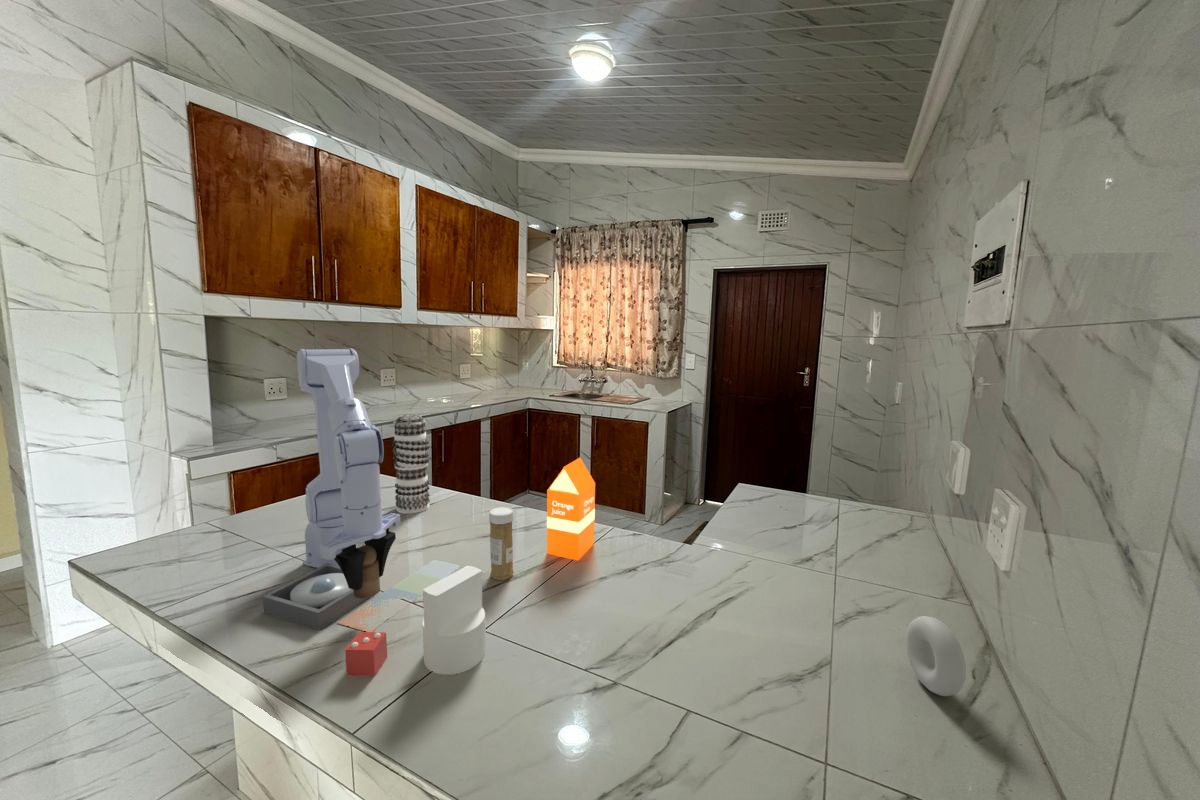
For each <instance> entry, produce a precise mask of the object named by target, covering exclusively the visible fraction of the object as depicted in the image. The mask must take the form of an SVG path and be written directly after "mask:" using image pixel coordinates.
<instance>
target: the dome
mask: <svg viewBox="0 0 1200 800" xmlns="http://www.w3.org/2000/svg"><path fill="white" fill-rule="evenodd" d="M350 590H352V589H349V587H348V584H347V581H346V579H345V576H344V574H343V573H330V574H324V575H319V576H316V577H313V578H310V579H307V580H305V581H303V582H301V583H300V584H298V585H297V586H295V587H294V588H293V589H292V591H291V593H290V599H291V601H292V602H296V603H299V604H303V605H306V606H310V607H313V608H316V609H320V608H322V607H324V606H325V605H327V604H329V603H330V602H332V601H334V600H335V599H337V598H339V597H340V596H342V595H344V594H345V593H347V592H349V591H350Z"/></svg>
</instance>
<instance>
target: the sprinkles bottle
mask: <svg viewBox="0 0 1200 800" xmlns="http://www.w3.org/2000/svg"><path fill="white" fill-rule="evenodd" d="M488 515H489V516H488V517H489V518H488V519H489V521H488V522H489V524H490V525H489V526H490V527H489V528H490V532H489V533H490V534H489V541H490V542H489V545H490V547H489V548H490V551H489V553H490V577H491V579H494V580H496V581H503V580H504V581H505V580H508V579H510V578H511V577H512V576H513V575H514V568H513V567H514V566H513V565H514V564H513V563H514V562H513V561H514V553H513V551H514V550H513V544H514V543H513V540H514V539H513V520H514V511H513V509H512V508H510V507H504V506H503V507H500V506H499V507H495V508H492V509H491V510H490V511H489V514H488Z"/></svg>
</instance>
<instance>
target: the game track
mask: <svg viewBox="0 0 1200 800" xmlns="http://www.w3.org/2000/svg"><path fill="white" fill-rule="evenodd" d="M461 567H462V565H460V564H456V563H451V562H446V561H442V560H437V559H432V560H431V561H429V562H428V563H426V564H425V565H423V566H422V567H420V568H419V569H417V570H415V571H414V572H413V573H411V574H410V575H408V576H407V577H404V578H403V579H402V580H400V581H399V582H397V583H396V584H394V585H392V586H391V587H390V588H388V589H387V590H385V591H384V592H382V593H381V594H379V595H378V596H376V597H375V598H373V599H371V600H370V601H371V603H372V604H371V606H370V605H369V607H368V610H367V606H368V602H369V604H370V601H368V602H367V603H366V604H367V605H366V607H365V604H364V605H363V606H361V607H359V608H360V610H359V608H358V609H356V610H355V611H353V612H352V613H350V614H348V615H347V616H346V617H344V618H343V619H341V620H340V621H338V622H337V624H338V625H341V626H344V627H347V626H349V627H348V628H352V629H355V630H357V629H358V631H361V630H362V631H361V632H364V631H366V630H367V631H366V632H372V630H373V632H375V630H376V629H375V628H376V627H377V626H376V627H375V626H374V625H373V626H374V627H375V628H374V627H373V626H371V629H372V630H371V629H370V628H369V627H368V625H366V624H367V623H366V624H365V625H366V626H367V627H368V628H369V629H370V630H369V629H368V628H367V627H366V626H364V625H363V626H364V627H363V626H362V625H361V624H359V623H360V619H361V618H362V620H363V619H364V618H365V619H366V618H367V617H368V616H369V617H368V619H369V618H370V616H371V615H372V613H373V611H374V609H375V607H376V605H377V607H379V606H380V605H381V599H382V600H387V601H388V599H389V600H390V598H391V599H392V600H393V598H394V599H397V598H398V599H402V596H403V597H405V598H406V596H407V599H408V600H409V599H410V600H413V599H414V600H415V601H416V600H417V599H419V598H420V597H423V589H425V588H426V587H428V586H430V585H432V584H434V583H436V582H438V581H440V580H442V579H443V578H445V577H447V576H449V575H451V574H453V573H455V572H457V571H458V570H459V569H460V568H461ZM401 595H402V596H401ZM399 596H400V597H401V598H400V597H399ZM395 597H396V598H395ZM408 597H409V598H408ZM403 599H404V598H403ZM373 601H374V603H373ZM378 601H379V602H378ZM376 602H377V603H376ZM382 602H383V601H382ZM378 603H380V604H379V605H378ZM384 603H386V601H385V602H384ZM373 604H375V605H374V606H373ZM387 604H388V602H387ZM382 605H383V604H382ZM384 606H385V605H384ZM387 606H388V605H387ZM362 607H363V609H362ZM370 607H373V608H374V609H372V608H371V610H370V612H371V613H370V612H369V613H368V611H369V609H370ZM377 607H376V609H375V611H374V613H373V615H372V617H373V616H374V614H375V612H376V610H377ZM364 608H365V609H364ZM379 609H380V607H379ZM379 609H378V610H377V613H378V612H379ZM358 610H359V611H358ZM366 610H367V612H366ZM381 610H382V609H381ZM381 610H380V612H381ZM383 611H384V610H383ZM357 612H358V613H357ZM365 612H366V613H365ZM380 612H379V614H380ZM377 613H376V614H375V616H376V615H377ZM382 613H383V612H382ZM369 614H370V615H369ZM379 614H378V615H379ZM358 615H359V616H358ZM360 616H361V618H360ZM365 616H366V617H365ZM387 616H388V615H387ZM372 617H371V618H372ZM377 617H378V616H377ZM379 617H380V615H379ZM379 617H378V618H379ZM358 619H359V620H358ZM375 619H376V618H375ZM357 620H358V621H357ZM362 620H361V621H362ZM377 620H378V619H377ZM364 621H365V620H363V621H362V623H363V622H364ZM371 621H372V620H371ZM358 622H359V623H358ZM365 622H366V621H365ZM368 622H369V621H368ZM363 624H364V623H363ZM372 627H373V628H374V629H375V630H374V629H373V628H372ZM365 629H366V630H365ZM363 630H364V631H363Z"/></svg>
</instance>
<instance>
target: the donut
mask: <svg viewBox="0 0 1200 800" xmlns="http://www.w3.org/2000/svg"><path fill="white" fill-rule="evenodd" d="M905 646H906V652H907V656H908V659H909V663H910V666H911V668H912V670H913V672H914V674H915V676H916V677H917V678H918V680H919V681H920V683H921V684H922V685H923V686H924V687H925V688H926V689H928V690H929V691H930V692H931V693H934V694H936V695H937V696H941V697H951V696H956V695H957V694H958V693H960V692H961V690H962V689H963V687H964V686H965V685H964V684H965V682H966V677H967V665H966V660H965V655H964V652H963V650H962V647H961V644H960V642H959V640H958V639H957V637H956V635H955V634H954V632H953V631H952V630H951V629H950V628H949V626H947V625H946V624H945V623H944V622H942V621H941V620H940V619H938V618H935V617H934V616H933V617H932V616H927V615H921V616H917V617H916V618H914V619H913V620H912V621H911V622H910V624H908V627H907V629H906V634H905Z"/></svg>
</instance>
